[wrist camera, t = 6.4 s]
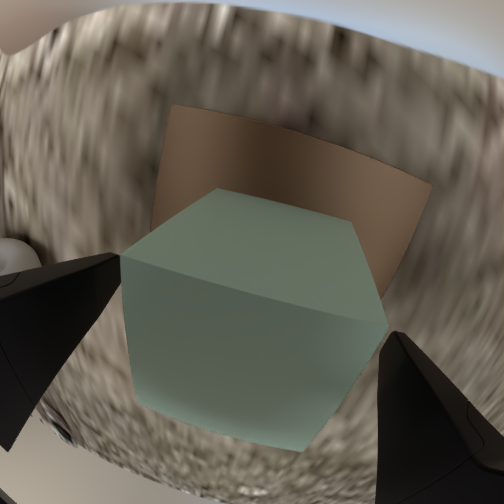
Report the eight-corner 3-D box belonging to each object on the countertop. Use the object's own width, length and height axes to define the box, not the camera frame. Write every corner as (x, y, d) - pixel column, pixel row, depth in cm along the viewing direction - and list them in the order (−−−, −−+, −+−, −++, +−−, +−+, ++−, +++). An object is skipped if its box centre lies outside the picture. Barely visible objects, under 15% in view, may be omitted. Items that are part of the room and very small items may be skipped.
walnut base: (401, 170, 12) (433, 185, 9) (331, 329, 17) (332, 377, 13) (207, 109, 13) (171, 104, 9) (175, 278, 17) (144, 314, 14)
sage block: (351, 221, 10) (388, 327, 4) (312, 329, 12) (302, 452, 7) (216, 188, 10) (120, 254, 5) (201, 299, 12) (137, 403, 7)
